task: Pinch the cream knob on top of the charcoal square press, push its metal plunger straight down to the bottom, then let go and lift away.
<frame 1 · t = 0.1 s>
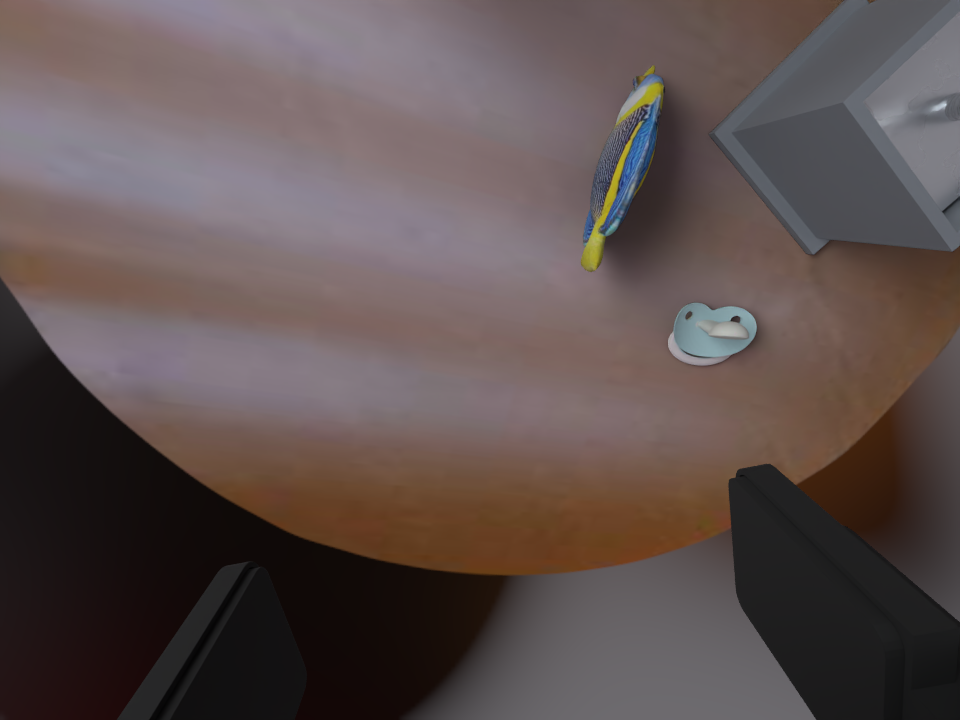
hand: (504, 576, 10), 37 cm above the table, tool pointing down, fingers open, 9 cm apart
pacifier: (700, 332, 48), on the table
press housing: (826, 132, 42), on the table
tropical fish figurine: (604, 172, 43), on the table
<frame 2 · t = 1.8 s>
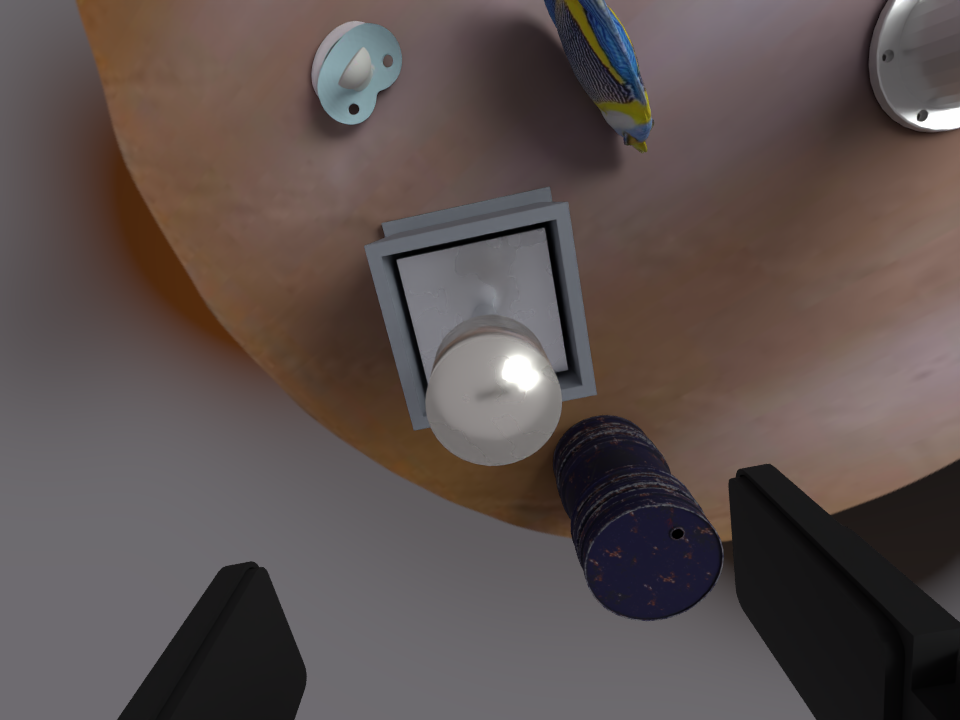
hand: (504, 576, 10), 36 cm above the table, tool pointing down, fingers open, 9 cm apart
pacifier: (356, 73, 40), on the table
plunger: (488, 345, 26), point 19 cm above the table, slide at 0.0 cm
storage jar: (601, 459, 50), on the table
press housing: (482, 287, 44), on the table
tropical fish figurine: (581, 70, 40), on the table
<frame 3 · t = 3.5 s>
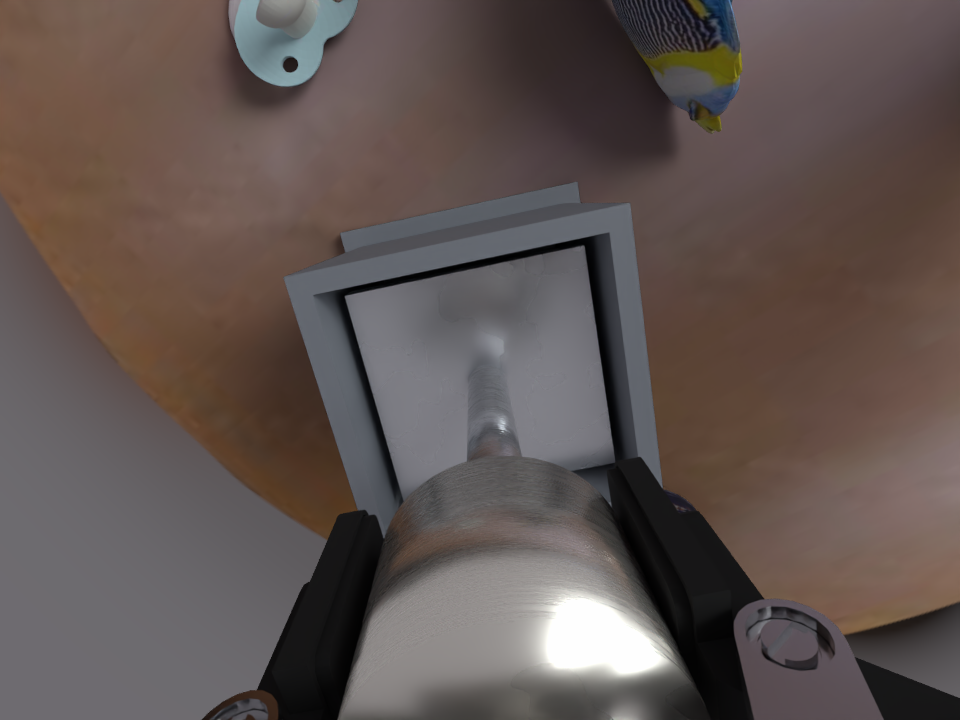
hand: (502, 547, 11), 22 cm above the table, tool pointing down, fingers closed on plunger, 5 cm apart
pacifier: (295, 14, 28), on the table
plunger: (495, 468, 14), point 19 cm above the table, slide at 0.0 cm, touching gripper
storage jar: (639, 543, 38), on the table
press housing: (481, 320, 32), on the table
tropical fish figurine: (623, 14, 28), on the table
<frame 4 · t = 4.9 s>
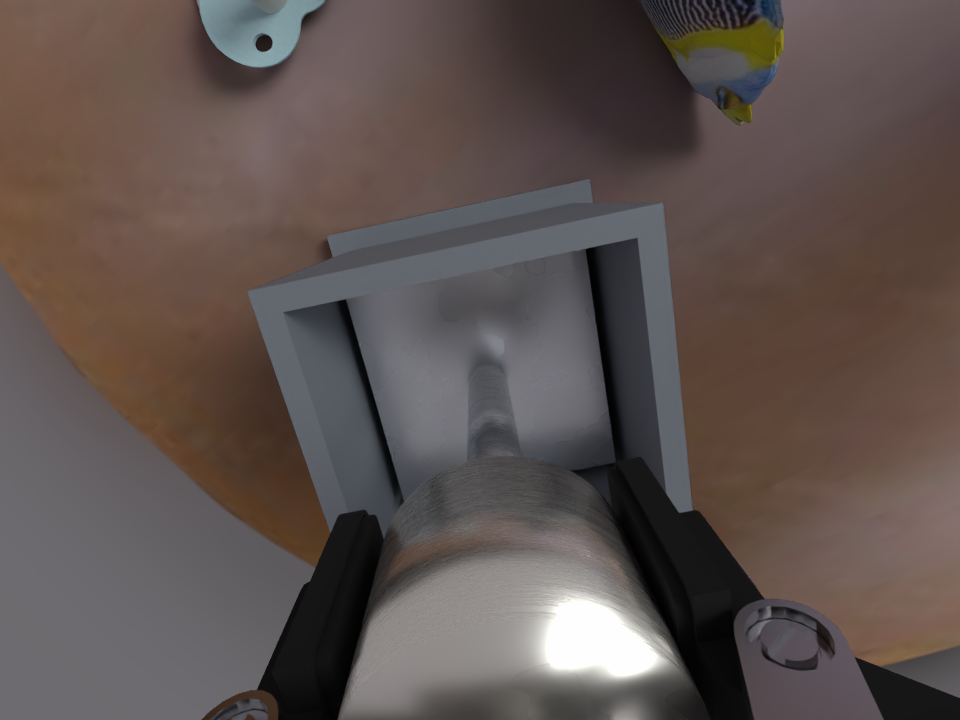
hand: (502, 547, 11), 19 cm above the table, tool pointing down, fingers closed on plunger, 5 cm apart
plunger: (495, 468, 14), point 16 cm above the table, slide at 3.0 cm, touching gripper
press housing: (483, 331, 29), on the table
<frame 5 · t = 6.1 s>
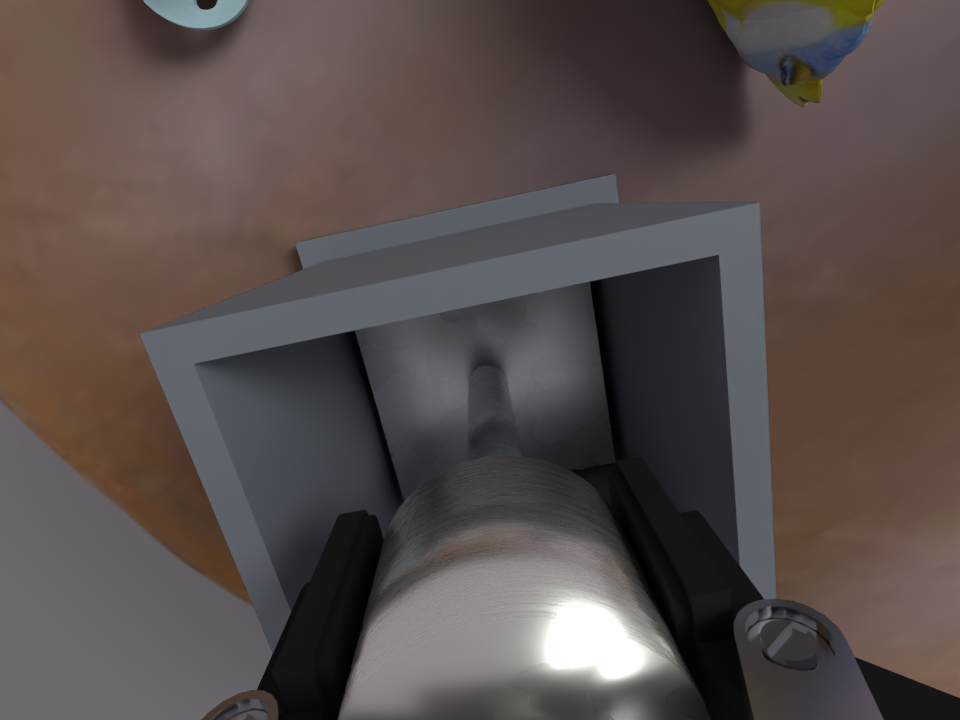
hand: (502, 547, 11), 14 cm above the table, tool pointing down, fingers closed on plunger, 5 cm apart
plunger: (495, 468, 14), point 11 cm above the table, slide at 8.0 cm, touching gripper
press housing: (485, 355, 25), on the table
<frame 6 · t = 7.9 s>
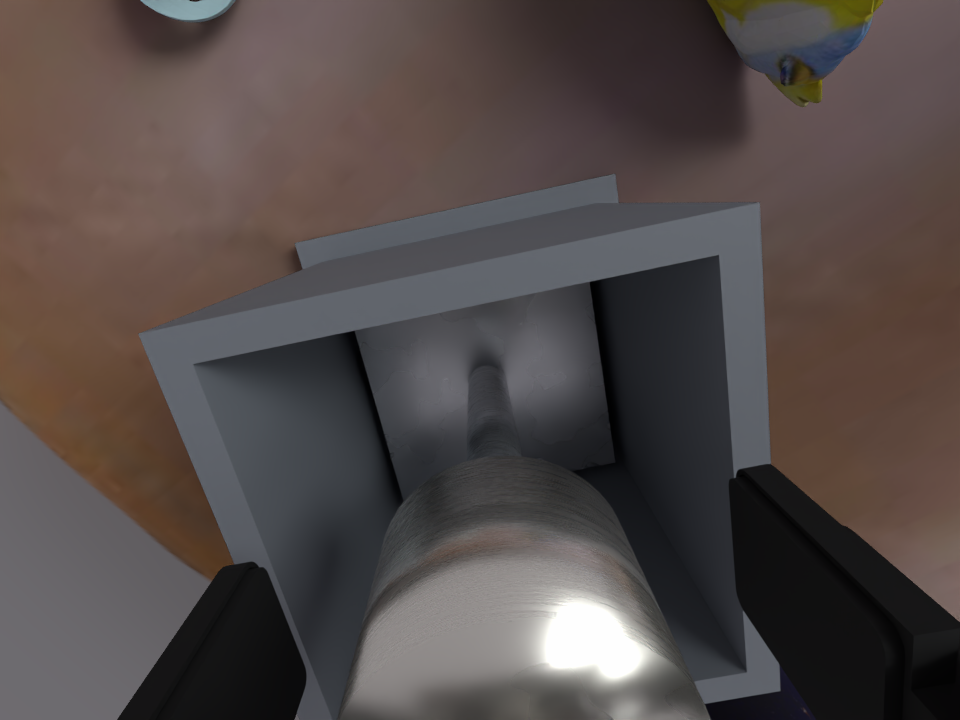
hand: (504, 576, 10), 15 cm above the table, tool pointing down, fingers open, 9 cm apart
plunger: (495, 468, 14), point 11 cm above the table, slide at 8.0 cm
storage jar: (681, 629, 30), on the table
press housing: (484, 356, 25), on the table
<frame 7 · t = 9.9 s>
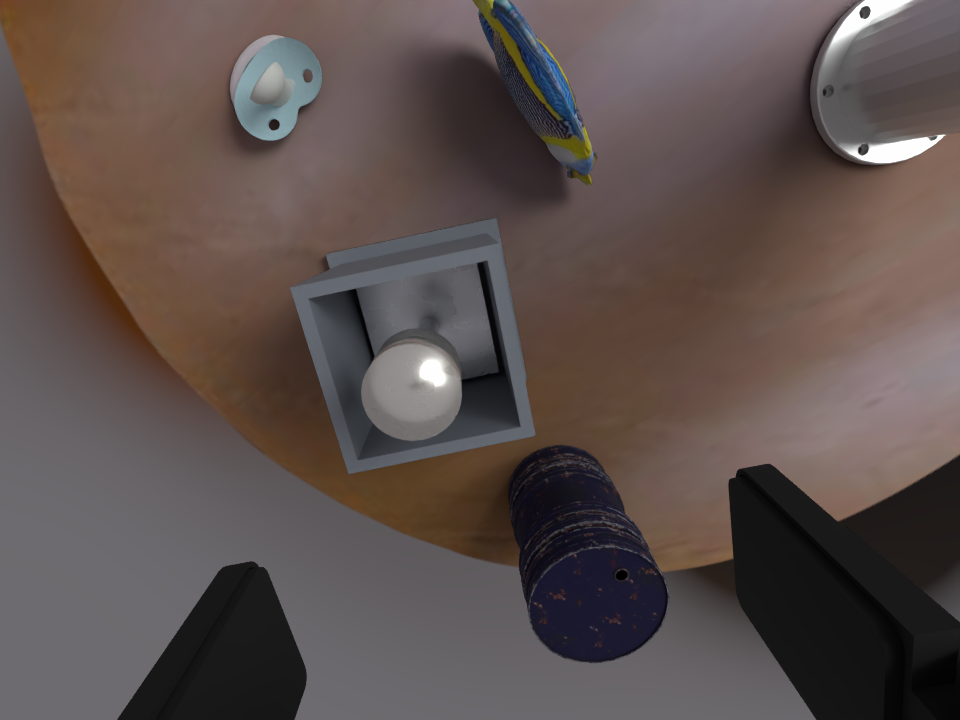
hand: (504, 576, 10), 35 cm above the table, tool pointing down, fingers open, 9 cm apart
pacifier: (277, 88, 39), on the table
plunger: (422, 352, 33), point 11 cm above the table, slide at 8.0 cm
storage jar: (557, 489, 49), on the table
press housing: (431, 317, 44), on the table
tropical fish figurine: (526, 101, 39), on the table
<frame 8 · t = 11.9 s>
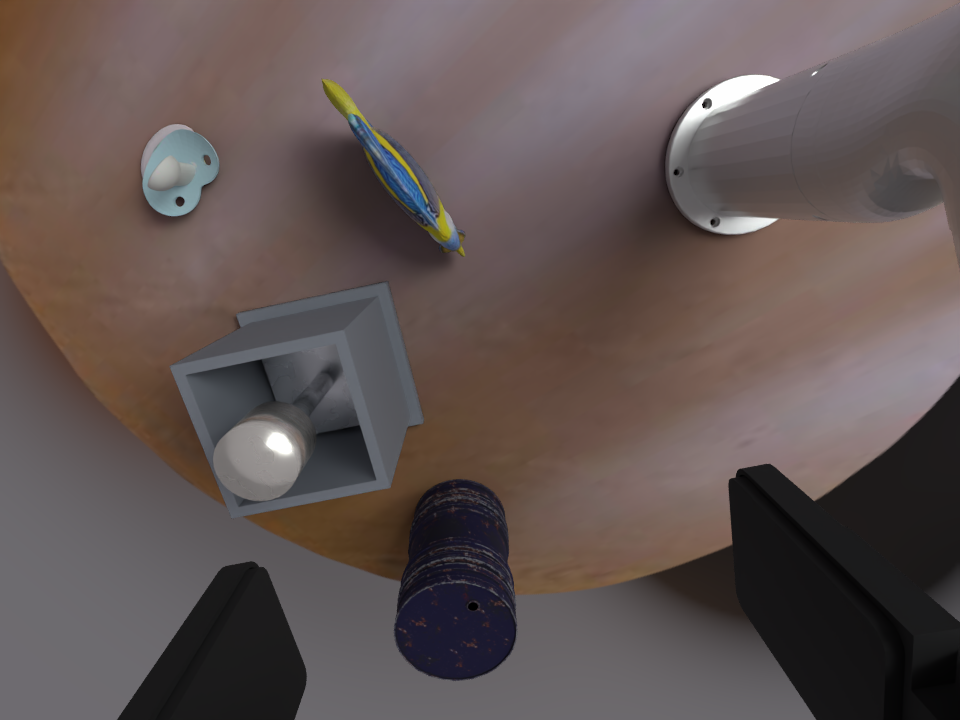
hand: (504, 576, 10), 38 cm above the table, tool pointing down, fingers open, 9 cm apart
pacifier: (184, 167, 44), on the table
plunger: (298, 412, 38), point 11 cm above the table, slide at 8.0 cm
storage jar: (459, 518, 54), on the table
press housing: (335, 367, 49), on the table
tropical fish figurine: (409, 180, 44), on the table
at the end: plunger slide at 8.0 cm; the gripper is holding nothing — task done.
